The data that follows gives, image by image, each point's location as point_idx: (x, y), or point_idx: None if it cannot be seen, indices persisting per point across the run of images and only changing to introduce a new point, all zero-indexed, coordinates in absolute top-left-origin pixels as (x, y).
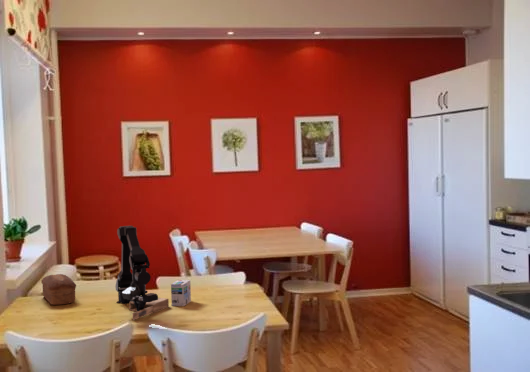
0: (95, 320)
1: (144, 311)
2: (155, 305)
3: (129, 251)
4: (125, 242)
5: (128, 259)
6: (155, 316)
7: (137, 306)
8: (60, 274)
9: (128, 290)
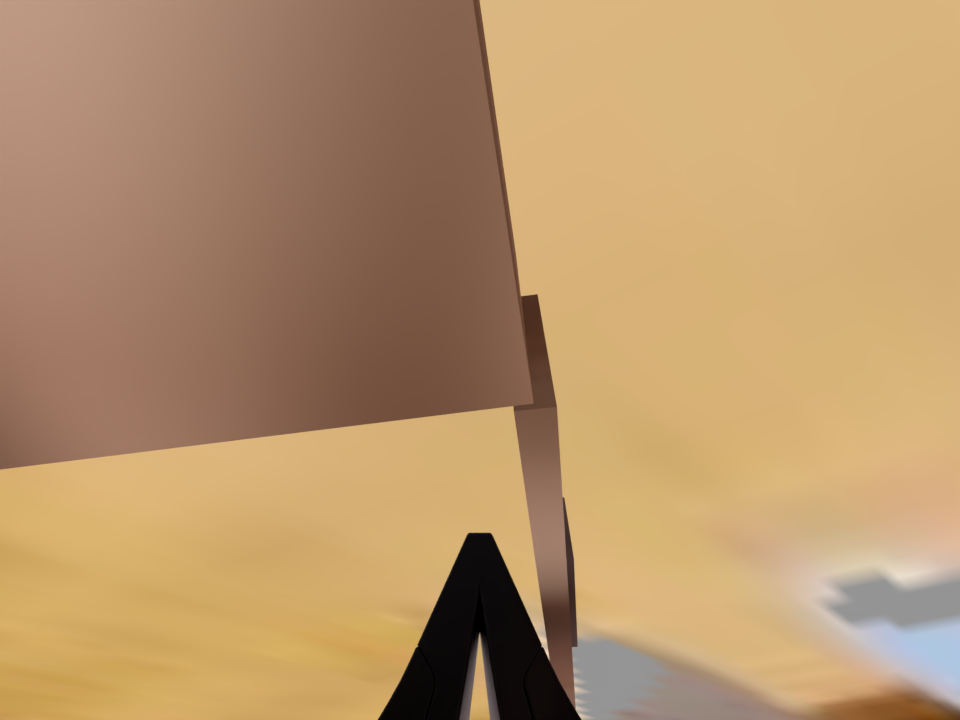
0: (225, 675)
1: (574, 575)
2: (513, 262)
3: None
4: None
5: None
6: (717, 397)
7: (469, 715)
8: None
9: None
